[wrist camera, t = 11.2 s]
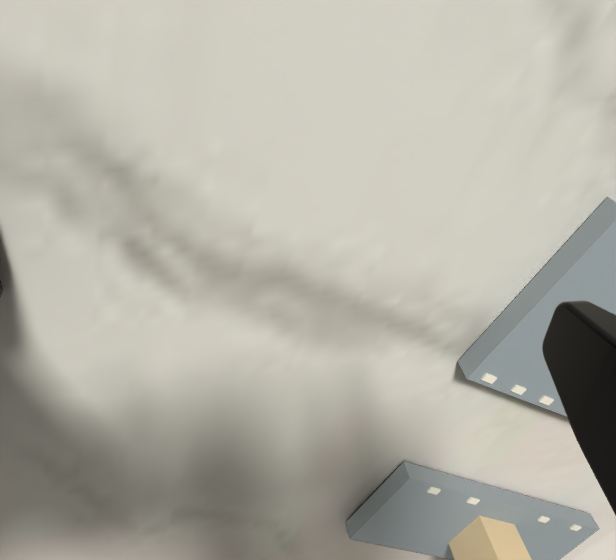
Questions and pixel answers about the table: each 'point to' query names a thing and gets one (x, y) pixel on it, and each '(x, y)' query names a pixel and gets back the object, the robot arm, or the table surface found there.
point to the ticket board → (546, 313)
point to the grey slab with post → (465, 519)
